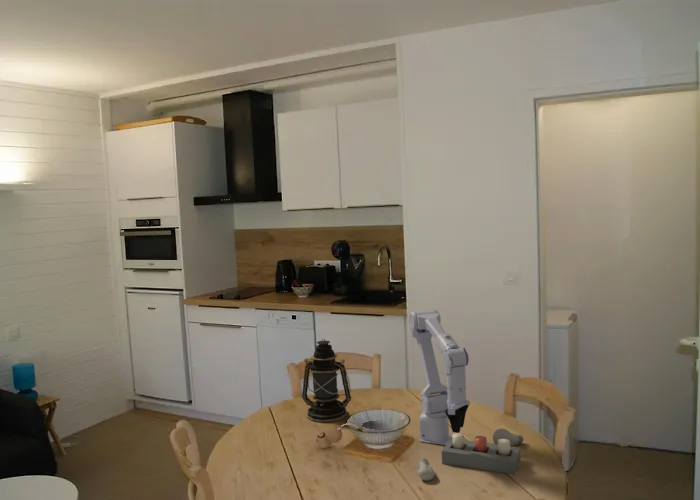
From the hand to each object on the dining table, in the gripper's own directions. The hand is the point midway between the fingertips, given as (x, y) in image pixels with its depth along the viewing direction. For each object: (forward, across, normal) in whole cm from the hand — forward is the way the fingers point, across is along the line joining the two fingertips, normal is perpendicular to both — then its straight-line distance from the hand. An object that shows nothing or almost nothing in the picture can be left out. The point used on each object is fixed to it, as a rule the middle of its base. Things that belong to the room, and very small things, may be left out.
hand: (457, 429), depth 179 cm
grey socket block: (+9, 0, -7) cm, 12 cm away
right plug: (+6, 0, -14) cm, 15 cm away
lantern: (+10, +21, +57) cm, 61 cm away
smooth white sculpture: (+10, -14, +6) cm, 18 cm away
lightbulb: (+8, +18, -17) cm, 26 cm away
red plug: (+6, 0, -7) cm, 9 cm away
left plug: (+6, 0, 0) cm, 6 cm away
